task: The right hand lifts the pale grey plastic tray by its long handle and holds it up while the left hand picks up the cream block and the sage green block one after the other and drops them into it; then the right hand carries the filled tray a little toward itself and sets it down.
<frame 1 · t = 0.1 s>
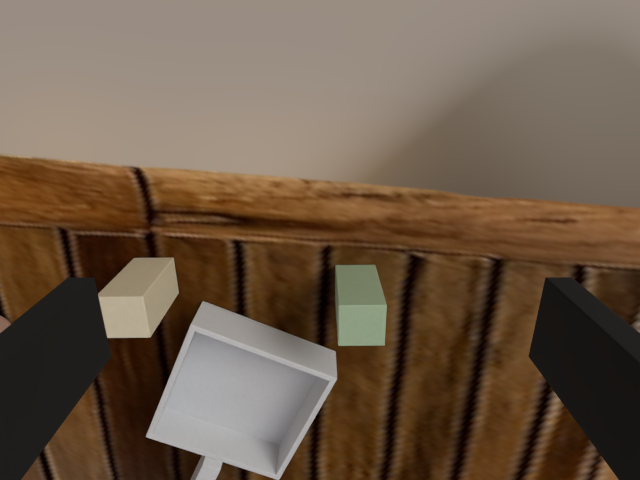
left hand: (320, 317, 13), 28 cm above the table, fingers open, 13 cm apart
block 1: (156, 275, 43), on the table
tray: (245, 379, 48), on the table
block 2: (354, 282, 44), on the table
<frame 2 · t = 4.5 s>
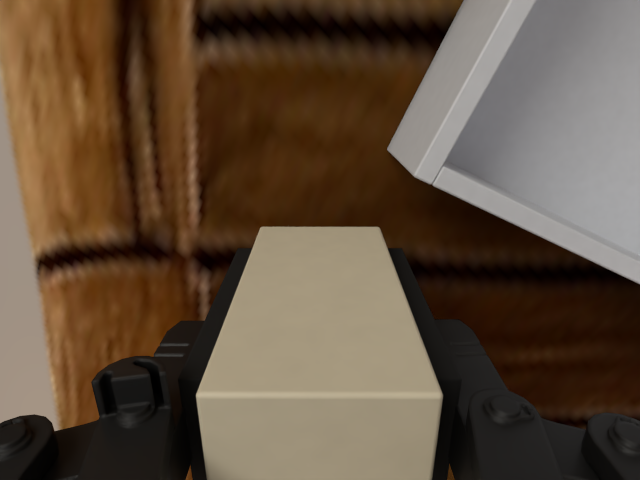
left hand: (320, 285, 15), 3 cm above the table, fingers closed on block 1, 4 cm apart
block 1: (320, 279, 15), point 2 cm above the table, touching left hand
when the left hand's fingers open (19 cm above the table, at t = 9.3 s): block 1 drops 6 cm, resting on tray.
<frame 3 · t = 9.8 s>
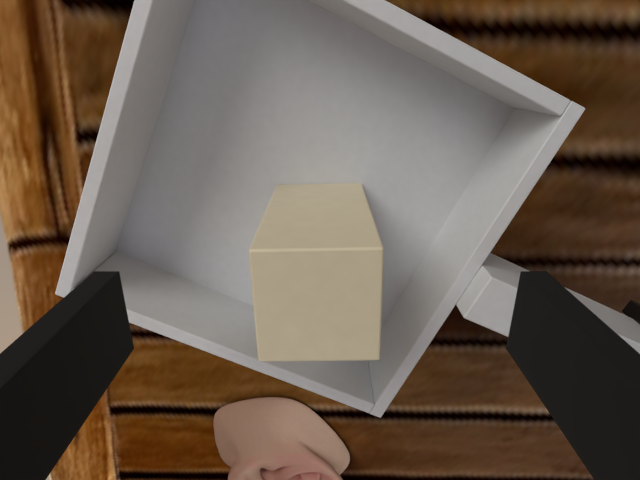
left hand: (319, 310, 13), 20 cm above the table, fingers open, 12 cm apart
block 1: (320, 223, 21), point 12 cm above the table, touching tray
anatomical model: (279, 443, 42), on the table
tray: (302, 181, 20), point 12 cm above the table, touching block 1, right hand
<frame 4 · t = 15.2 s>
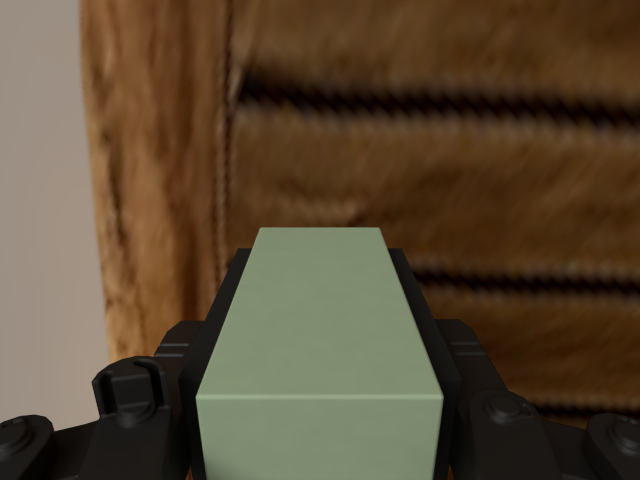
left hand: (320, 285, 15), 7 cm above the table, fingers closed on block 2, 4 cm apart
block 2: (319, 280, 15), point 7 cm above the table, touching left hand
when the left hand's fingers open (19 cm above the table, at t = 18.1 s): block 2 drops 6 cm, resting on tray.
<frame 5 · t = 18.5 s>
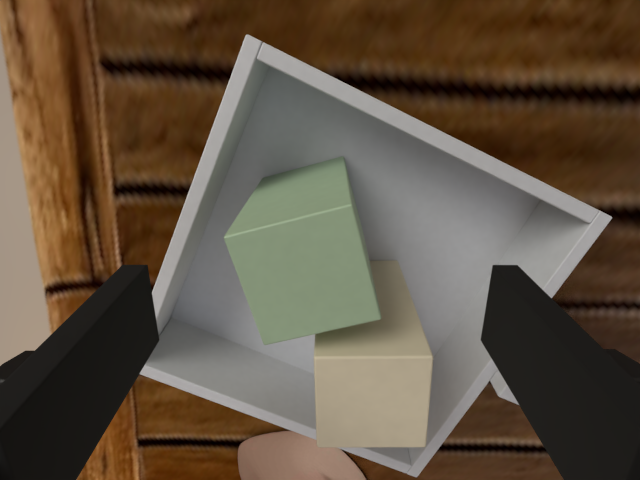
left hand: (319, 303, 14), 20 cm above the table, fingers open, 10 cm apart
block 1: (358, 295, 22), point 12 cm above the table, touching tray
anatomical model: (300, 473, 43), on the table
tray: (344, 257, 22), point 11 cm above the table, touching block 1, block 2, right hand
block 2: (313, 206, 21), point 12 cm above the table, touching tray
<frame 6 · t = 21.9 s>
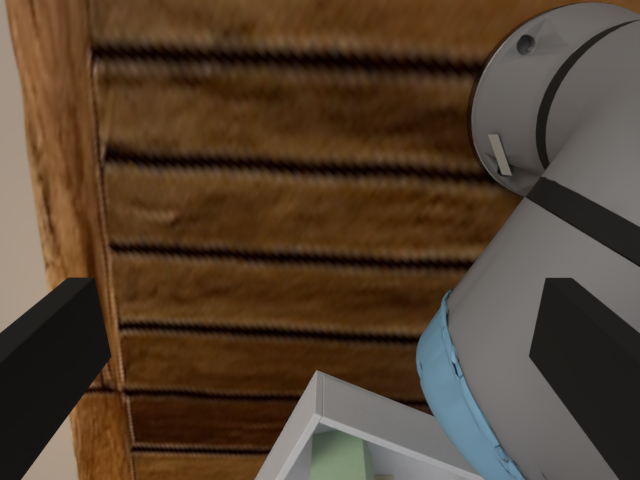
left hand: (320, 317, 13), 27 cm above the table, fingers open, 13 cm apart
tray: (360, 469, 36), point 11 cm above the table, touching block 1, block 2, right hand
block 2: (342, 448, 34), point 12 cm above the table, touching tray
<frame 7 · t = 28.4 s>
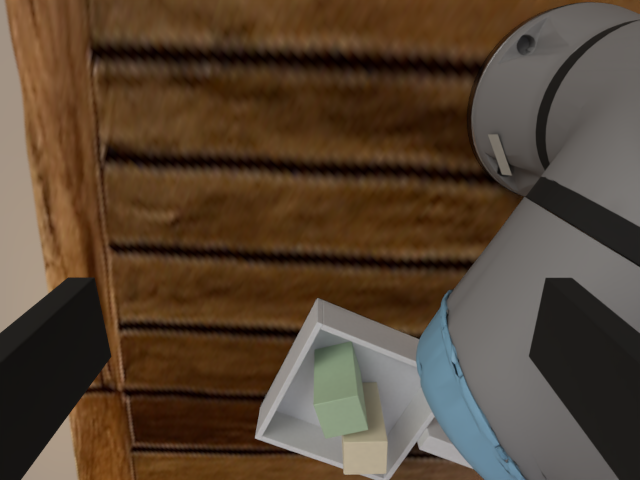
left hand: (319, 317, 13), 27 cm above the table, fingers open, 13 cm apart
block 1: (358, 397, 47), resting on tray
tray: (351, 379, 46), on the table, touching block 1, block 2
block 2: (337, 360, 45), resting on tray
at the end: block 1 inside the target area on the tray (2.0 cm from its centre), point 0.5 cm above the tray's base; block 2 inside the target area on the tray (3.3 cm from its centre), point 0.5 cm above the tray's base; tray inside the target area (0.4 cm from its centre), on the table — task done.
